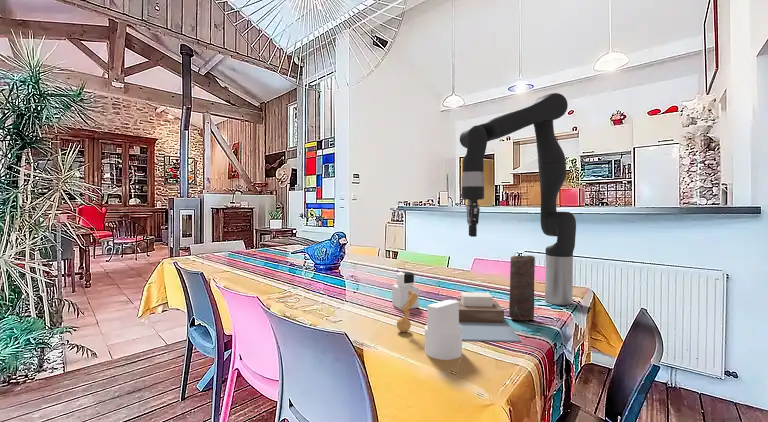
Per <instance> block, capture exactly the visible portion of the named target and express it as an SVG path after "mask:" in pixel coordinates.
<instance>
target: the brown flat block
mask: <svg viewBox="0 0 768 422" xmlns="http://www.w3.org/2000/svg"><path fill="white" fill-rule="evenodd" d="M454 300H455V301H459V322H477V323H505V310H504V309H503V307H501V305H500V304H499V303H498V302H497V301H496V300H493V307H486V306H463V304H462V302H461V299H454Z"/></svg>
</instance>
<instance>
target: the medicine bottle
mask: <svg viewBox="0 0 768 422" xmlns="http://www.w3.org/2000/svg"><path fill="white" fill-rule="evenodd" d="M414 284H415V274H414V272H411V271H399V272H398V273H396V284H392V286H391V287H392V289H391V290H392V295H391V296H392V301H391V302H392V306H394V307H396V308H397V309H398V310H400V311H401V309H402V308H403V306H404V305H405V304H406V302H407V301H408V297H409V294H408V291H409V290H410V291H412V292H413V293H416V294H417V299H416V301H415V304H413V306H412V307H411V308H410V309H409V310H411V309H417V308H419V307H420V306H419V296H420V295H419V289H420V288H419V287H418V286H415V285H414ZM408 304H409V302H408ZM408 304H407V305H408ZM407 305H406V306H407ZM406 306H405V307H406ZM405 307H404V308H405Z"/></svg>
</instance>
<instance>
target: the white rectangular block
mask: <svg viewBox="0 0 768 422" xmlns="http://www.w3.org/2000/svg"><path fill="white" fill-rule="evenodd" d="M493 298H494V297H493V296H492V295H491V293H490V292H475V291H474V292H473V291H472V292H470V291H467V292H465V291H463V292H462V291H461V293H460V300H461V302H462V304H463V306H486V307H493V301H494V300H493Z"/></svg>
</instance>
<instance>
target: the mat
mask: <svg viewBox="0 0 768 422" xmlns="http://www.w3.org/2000/svg"><path fill="white" fill-rule="evenodd" d="M459 326H460V327H461V328H462V342H463V341H465V342H499V343H500V342H503V343H504V342H505V343H506V342H507V343H522V339H521V338H520V337H519V335H518V334H517V333H516V332H515V330H514V329H513V328H512V326H511V325H510V324H509V323H507V322H504V323H477V322H459Z"/></svg>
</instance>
